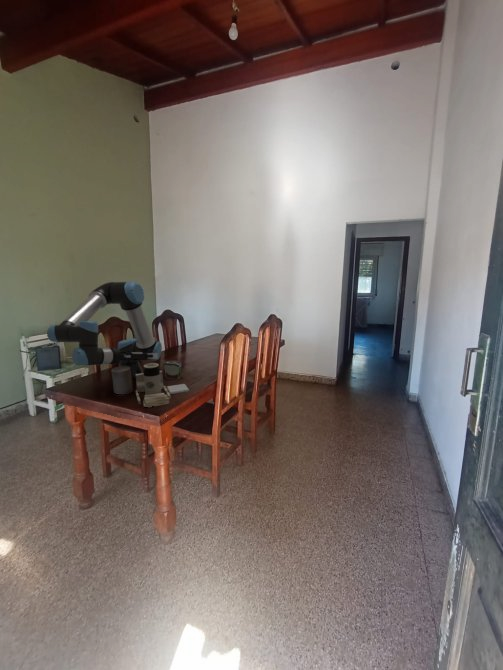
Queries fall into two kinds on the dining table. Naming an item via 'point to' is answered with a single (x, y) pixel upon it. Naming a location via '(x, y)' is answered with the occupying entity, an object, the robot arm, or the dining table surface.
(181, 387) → the mat
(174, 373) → the food container
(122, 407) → the dining table surface
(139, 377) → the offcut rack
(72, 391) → the dining table surface
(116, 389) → the pillar candle
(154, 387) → the travel mug
